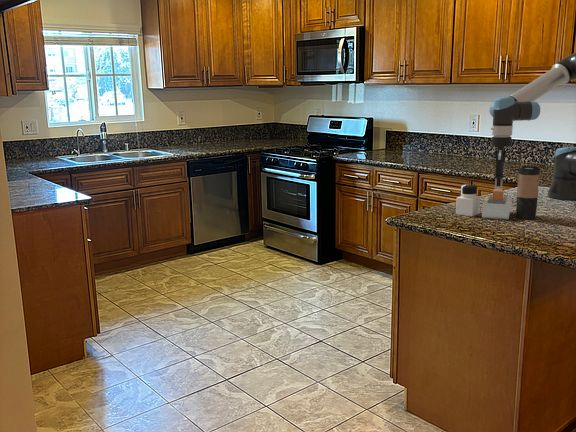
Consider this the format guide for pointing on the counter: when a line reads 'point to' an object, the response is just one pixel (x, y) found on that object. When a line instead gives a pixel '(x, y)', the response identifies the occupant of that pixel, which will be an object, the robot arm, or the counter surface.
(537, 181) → the travel mug
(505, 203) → the grey boxy piece
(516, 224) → the counter surface
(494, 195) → the toggle
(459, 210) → the medicine bottle
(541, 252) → the counter surface
